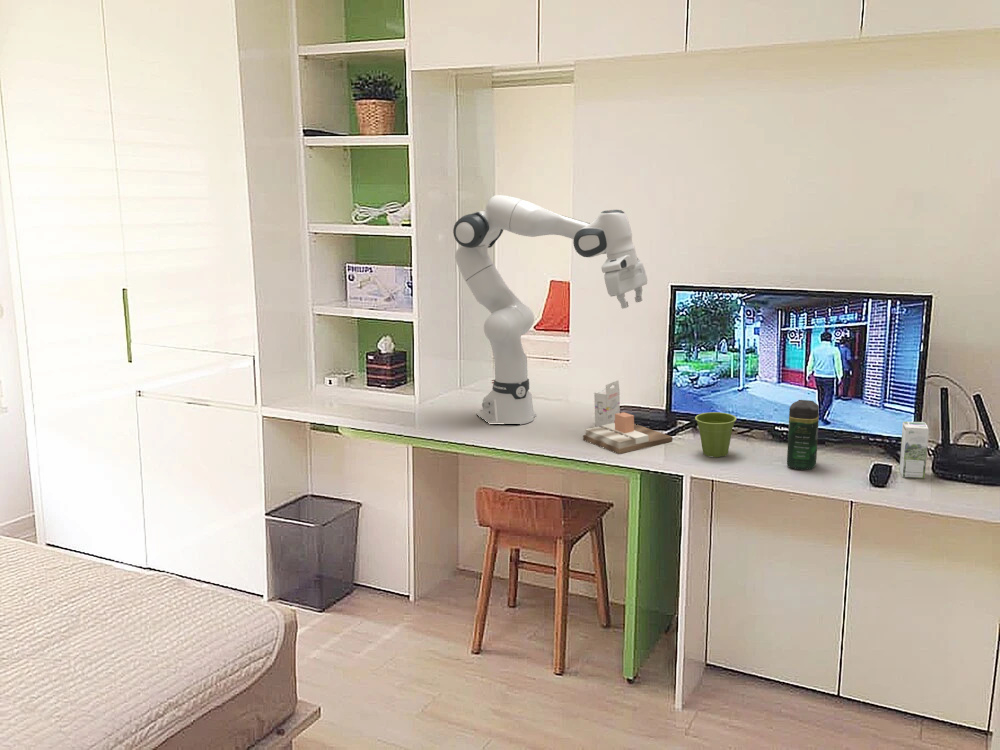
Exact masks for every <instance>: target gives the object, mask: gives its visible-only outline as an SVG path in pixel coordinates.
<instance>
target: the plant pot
mask: <svg viewBox="0 0 1000 750" xmlns="http://www.w3.org/2000/svg"><path fill="white" fill-rule="evenodd" d="M737 418H738V417H736V416H735V415H733V414H732V413H726V412H720V411H719V412H717V411H715V412H714V411H713V412H703V413H702V412H701V413H700V414H697V415H696V416H695V417H694V419H695V421H696V422H697V423H696V424H697V427H698V431H699V436H700V441H701V442H700V444H701V449H702V453H703V455H705V456H706V455H707V456H706V457H708V456H713V457H712V458H720V457H726V456H728V454H729V449H730V443H731V440H732V439H731V438H732V433H733V429H734V425H735V422H736V421H737Z"/></svg>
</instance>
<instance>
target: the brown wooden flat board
mask: <svg viewBox="0 0 1000 750" xmlns="http://www.w3.org/2000/svg"><path fill="white" fill-rule="evenodd" d="M636 424H637V423H634V430H635V431H638V432H641V433H644V434H647V435H648V442H644V443H640V444H635V439H634V438H632V437H629V436H626V435H624V434H621V433H618V432H615V431H613V430H610V429H607V428H604V427H602V426H599V427H595V426H594V427H590V428H586V429H585V432H584V434H583V435H582V438H583V440H582V441H585V440H586V441H585V442H587V441H588V443H590V442H591V443H590V444H592V443H593V445H595V444H596V445H595V446H597V445H598V447H600V446H601V447H600V448H602V447H604V448H603V449H605V448H606V449H605V450H607V449H608V450H607V451H610V450H611V451H610V452H612V451H614V452H613V453H615V452H616V453H615V454H617V453H618V454H617V455H621V454H625V453H630V452H634V451H637V450H642V449H647V448H651V447H655V446H658V445H663V444H667V443H672V442H673V436H671V435H669V434H666V433H664V432H660V431H658V430H654V429H651V428H648V427H645V426H643V425H640V424H637V425H636Z"/></svg>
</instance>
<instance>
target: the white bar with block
mask: <svg viewBox="0 0 1000 750" xmlns="http://www.w3.org/2000/svg"><path fill="white" fill-rule="evenodd" d="M634 424H635V415H633V414H630V413H628V412H624V411H623V412H620V413H617V414H615V423H611V424H606V425H602V427H604V428H607V429H610V430H613V431H615V432H618V433H621V434H624V435H626V436H629V437H632V438H634V439H635V444H640V443H644V442H648V435H647V434H644V433H641V432H638V431H635V430H634Z"/></svg>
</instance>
